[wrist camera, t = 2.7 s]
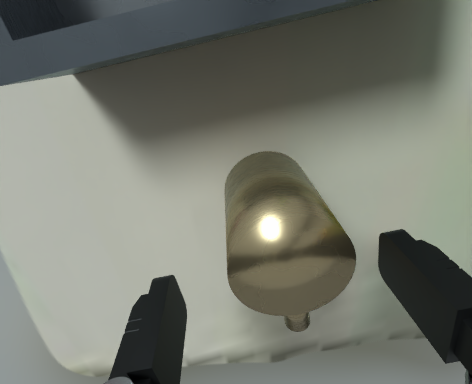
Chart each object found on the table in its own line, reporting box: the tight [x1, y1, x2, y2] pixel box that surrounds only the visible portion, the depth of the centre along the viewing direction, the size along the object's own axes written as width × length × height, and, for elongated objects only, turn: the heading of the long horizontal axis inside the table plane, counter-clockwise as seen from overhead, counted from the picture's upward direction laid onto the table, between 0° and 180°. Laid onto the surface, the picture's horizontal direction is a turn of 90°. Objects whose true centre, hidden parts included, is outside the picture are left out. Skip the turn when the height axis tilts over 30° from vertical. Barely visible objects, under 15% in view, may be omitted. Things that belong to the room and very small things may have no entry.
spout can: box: [225, 151, 356, 332], centre depth 14 cm, size 5×7×7 cm
